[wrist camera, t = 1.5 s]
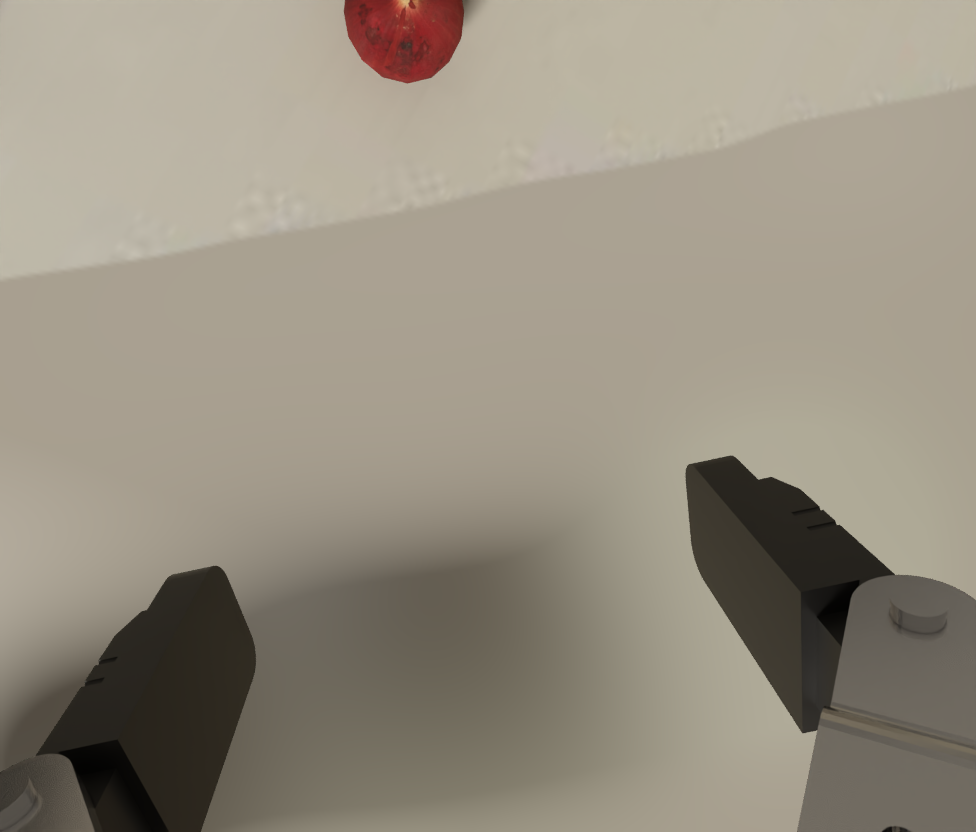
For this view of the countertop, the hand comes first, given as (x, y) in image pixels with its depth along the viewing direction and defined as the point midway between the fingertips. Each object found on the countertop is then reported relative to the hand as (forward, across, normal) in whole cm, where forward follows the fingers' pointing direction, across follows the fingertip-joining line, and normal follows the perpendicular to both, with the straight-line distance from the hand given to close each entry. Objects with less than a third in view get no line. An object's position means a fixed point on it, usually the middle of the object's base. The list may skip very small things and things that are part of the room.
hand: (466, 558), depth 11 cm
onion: (+32, +1, +13) cm, 34 cm away
